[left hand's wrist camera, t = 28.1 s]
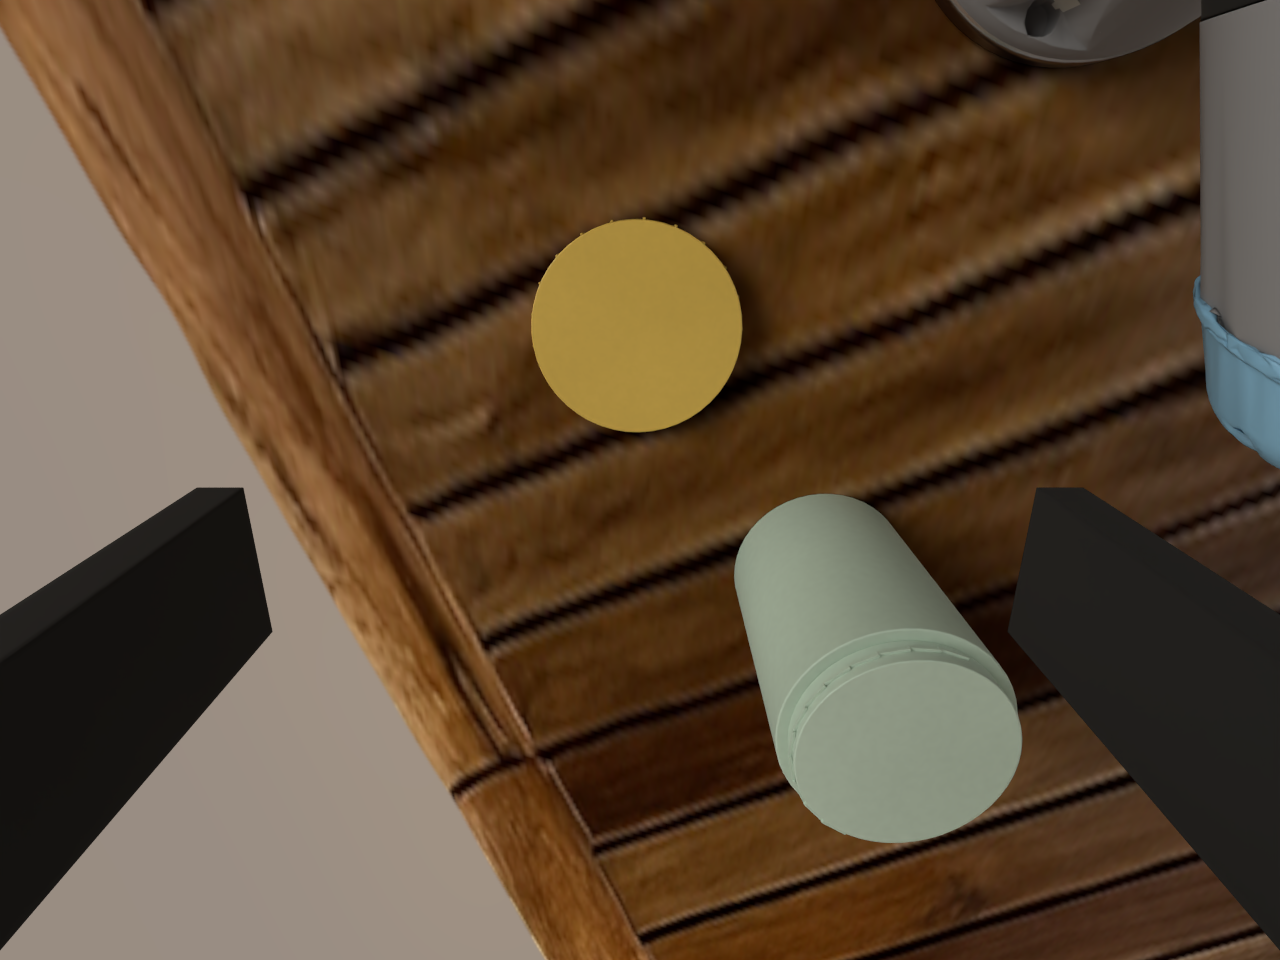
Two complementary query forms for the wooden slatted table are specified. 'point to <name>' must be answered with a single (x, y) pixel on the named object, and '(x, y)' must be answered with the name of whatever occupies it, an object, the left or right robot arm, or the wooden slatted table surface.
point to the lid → (636, 325)
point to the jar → (871, 675)
